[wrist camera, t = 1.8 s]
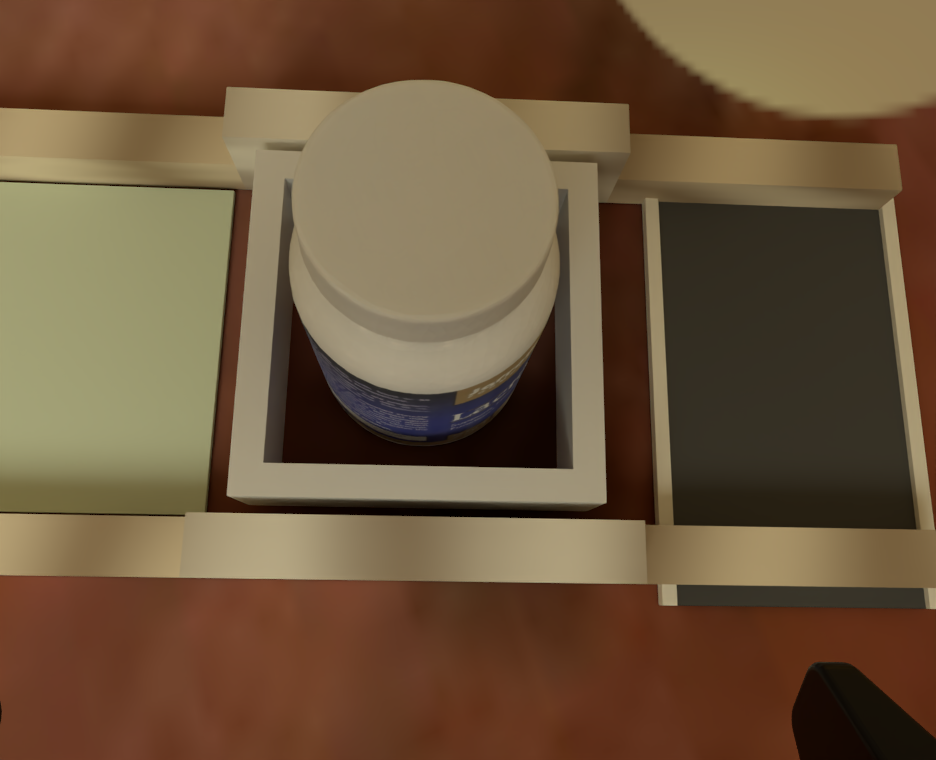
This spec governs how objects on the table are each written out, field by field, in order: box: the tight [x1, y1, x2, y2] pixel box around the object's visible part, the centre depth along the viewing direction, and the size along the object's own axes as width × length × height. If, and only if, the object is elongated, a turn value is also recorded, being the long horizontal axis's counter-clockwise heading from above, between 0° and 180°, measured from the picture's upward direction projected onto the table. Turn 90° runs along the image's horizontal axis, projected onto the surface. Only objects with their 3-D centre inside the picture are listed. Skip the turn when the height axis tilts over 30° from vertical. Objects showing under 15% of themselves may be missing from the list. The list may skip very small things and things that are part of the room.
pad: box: [0, 182, 235, 515], centre depth 23 cm, size 8×10×1 cm
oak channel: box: [0, 87, 936, 588], centre depth 22 cm, size 28×13×3 cm, turn 89°
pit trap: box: [642, 198, 936, 609], centre depth 24 cm, size 8×14×1 cm, turn 179°
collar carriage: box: [227, 150, 607, 511], centre depth 22 cm, size 9×9×2 cm
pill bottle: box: [289, 80, 560, 446], centre depth 19 cm, size 6×6×10 cm
